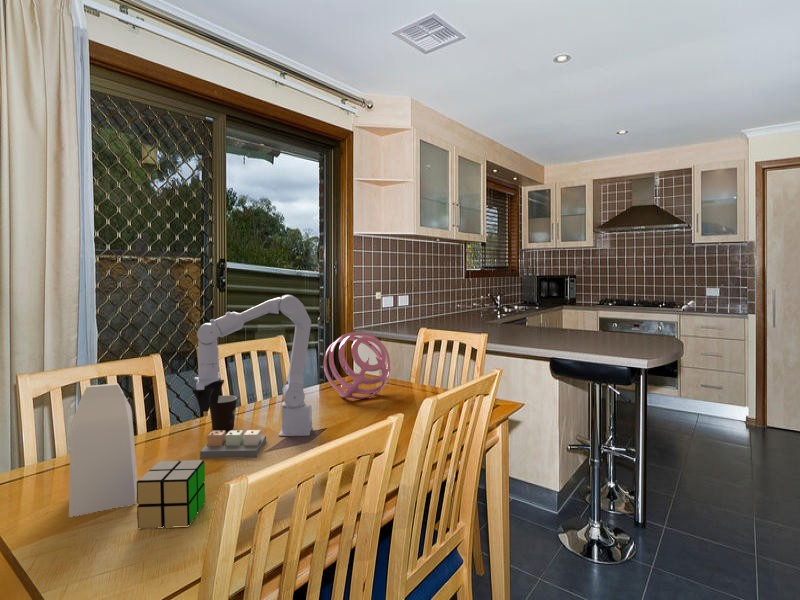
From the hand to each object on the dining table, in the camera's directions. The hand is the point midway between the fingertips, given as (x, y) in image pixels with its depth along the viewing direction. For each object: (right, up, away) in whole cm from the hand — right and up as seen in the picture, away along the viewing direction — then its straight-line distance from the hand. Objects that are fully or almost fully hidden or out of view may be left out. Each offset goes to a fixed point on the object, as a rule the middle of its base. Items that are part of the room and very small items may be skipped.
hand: (209, 407), depth 139 cm
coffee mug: (+1, -10, +12) cm, 15 cm away
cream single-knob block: (+15, -9, -6) cm, 19 cm away
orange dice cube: (+5, -9, -7) cm, 12 cm away
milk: (-8, -13, -36) cm, 39 cm away
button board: (+10, -11, -6) cm, 16 cm away
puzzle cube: (+10, -13, -42) cm, 46 cm away
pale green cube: (+10, -9, -7) cm, 15 cm away
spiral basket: (+41, -8, +51) cm, 65 cm away
